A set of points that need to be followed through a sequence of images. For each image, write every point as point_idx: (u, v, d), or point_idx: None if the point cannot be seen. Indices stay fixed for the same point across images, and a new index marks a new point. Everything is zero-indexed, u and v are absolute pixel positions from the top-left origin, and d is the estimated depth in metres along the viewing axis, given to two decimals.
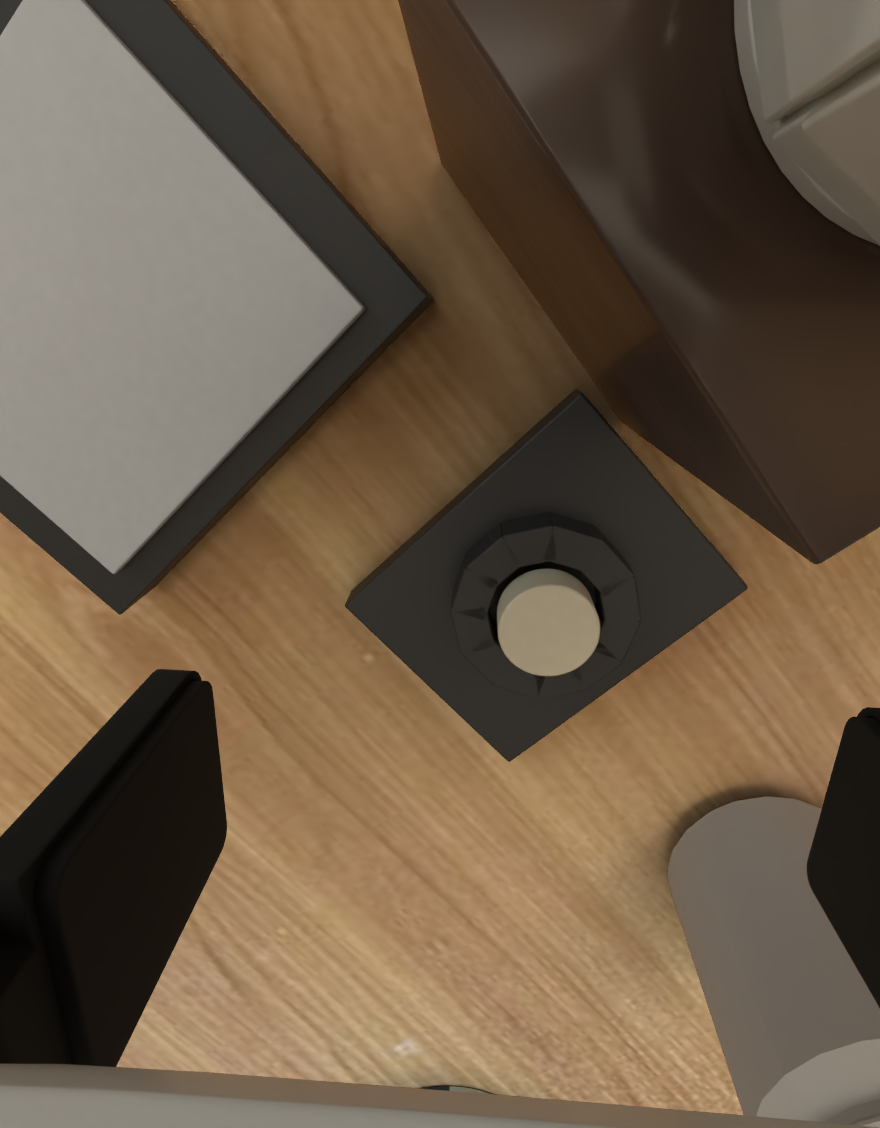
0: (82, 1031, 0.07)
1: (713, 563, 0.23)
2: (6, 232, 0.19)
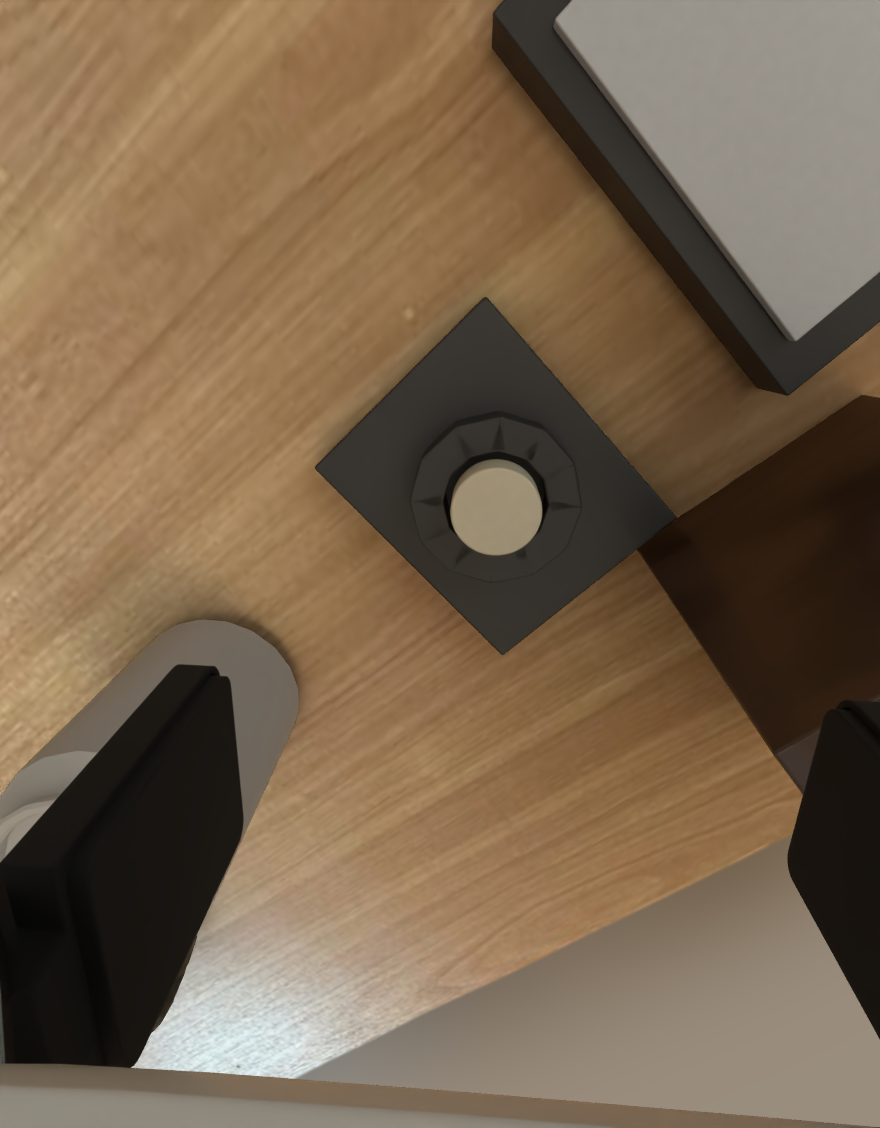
0: (111, 1016, 0.07)
1: (525, 628, 0.28)
2: None
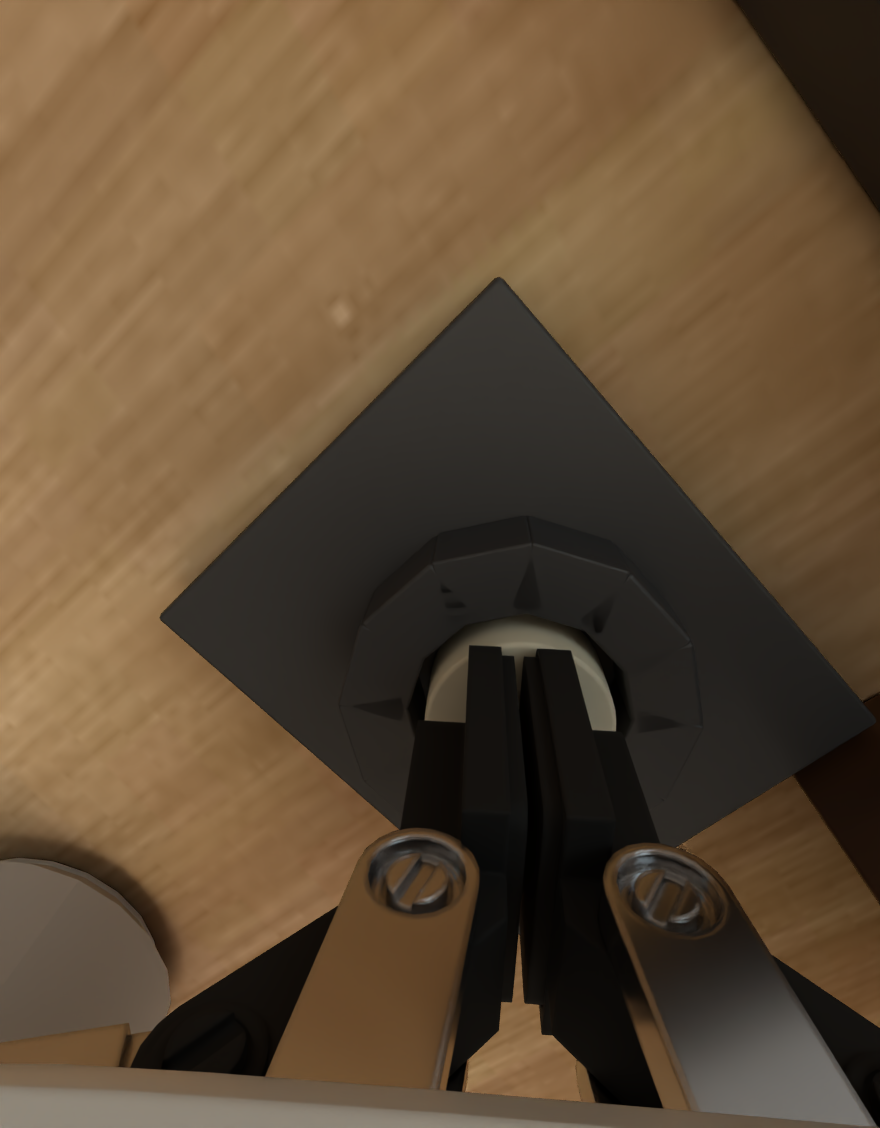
0: (509, 953, 0.08)
1: None
2: None
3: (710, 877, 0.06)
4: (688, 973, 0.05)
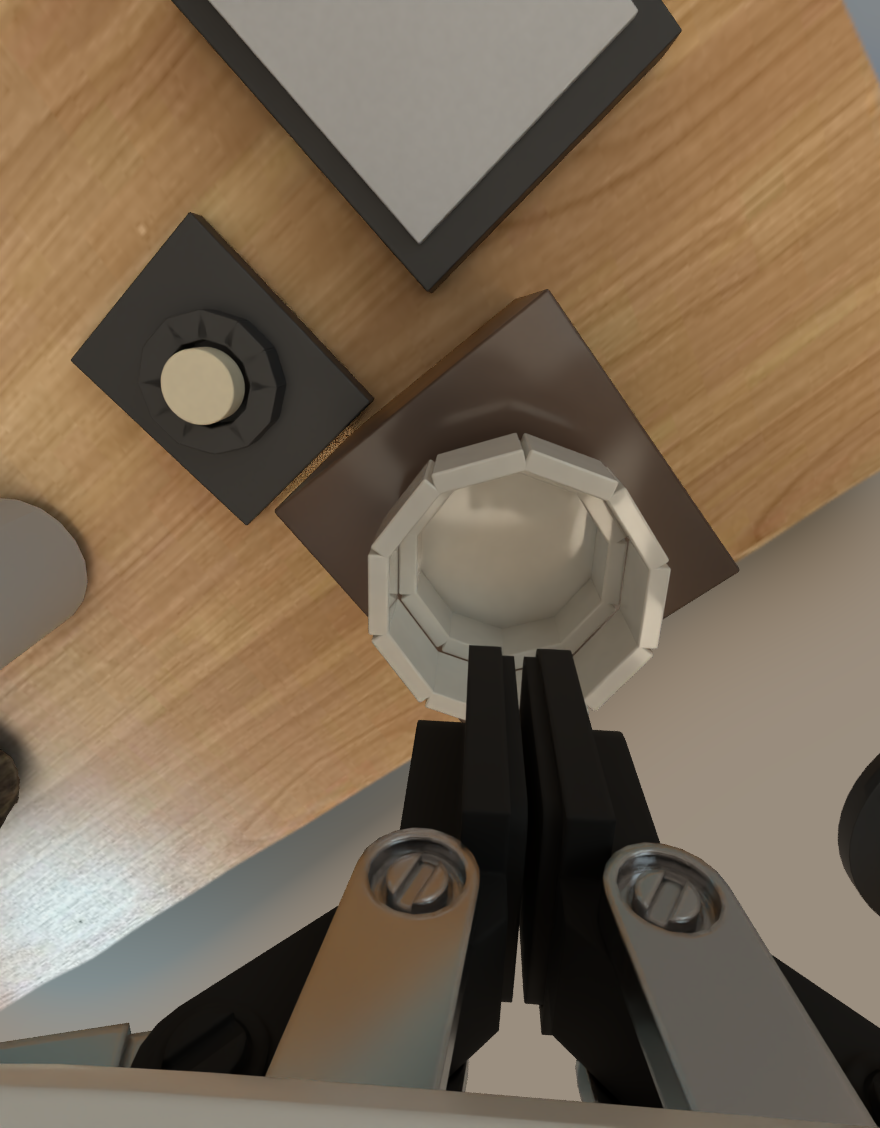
0: (509, 954, 0.08)
1: (261, 501, 0.33)
2: None
3: (711, 877, 0.06)
4: (688, 973, 0.05)
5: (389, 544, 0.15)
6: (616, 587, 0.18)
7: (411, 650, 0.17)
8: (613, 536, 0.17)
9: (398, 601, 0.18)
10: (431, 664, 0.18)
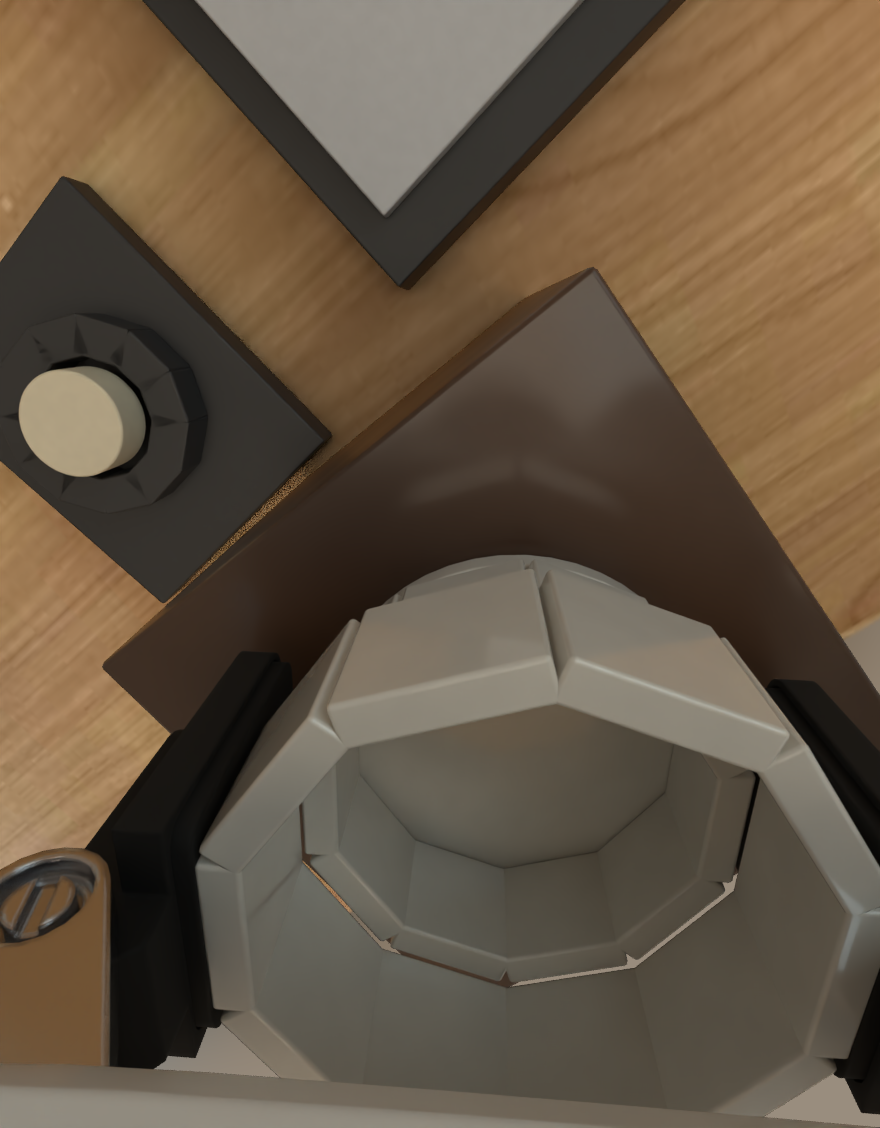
0: (203, 978, 0.07)
1: (180, 572, 0.24)
2: None
3: None
4: None
5: (238, 849, 0.07)
6: (728, 853, 0.09)
7: (314, 1011, 0.08)
8: (728, 765, 0.09)
9: (302, 872, 0.09)
10: (361, 1013, 0.09)
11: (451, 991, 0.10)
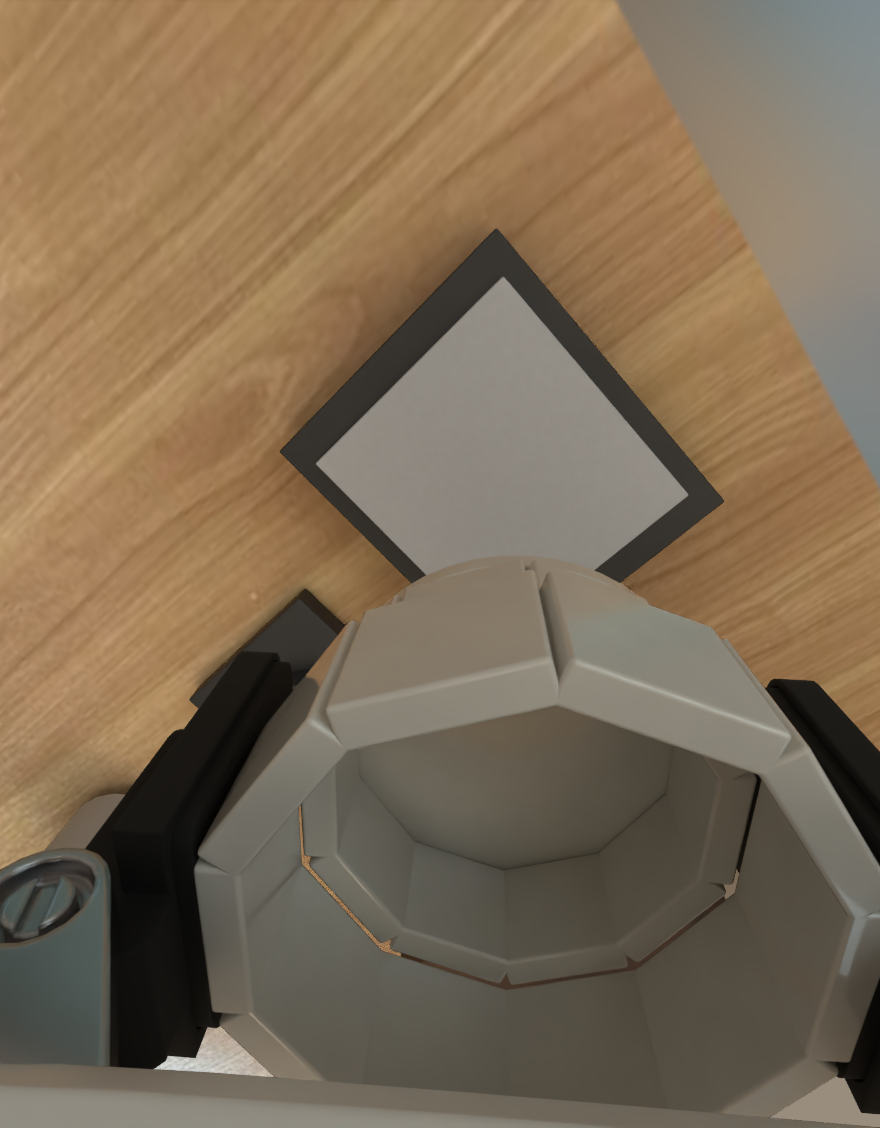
0: (203, 978, 0.07)
1: None
2: (551, 437, 0.28)
3: None
4: None
5: (237, 852, 0.07)
6: (729, 855, 0.09)
7: (313, 1014, 0.08)
8: (729, 767, 0.08)
9: (301, 874, 0.09)
10: (361, 1016, 0.09)
11: (451, 993, 0.10)
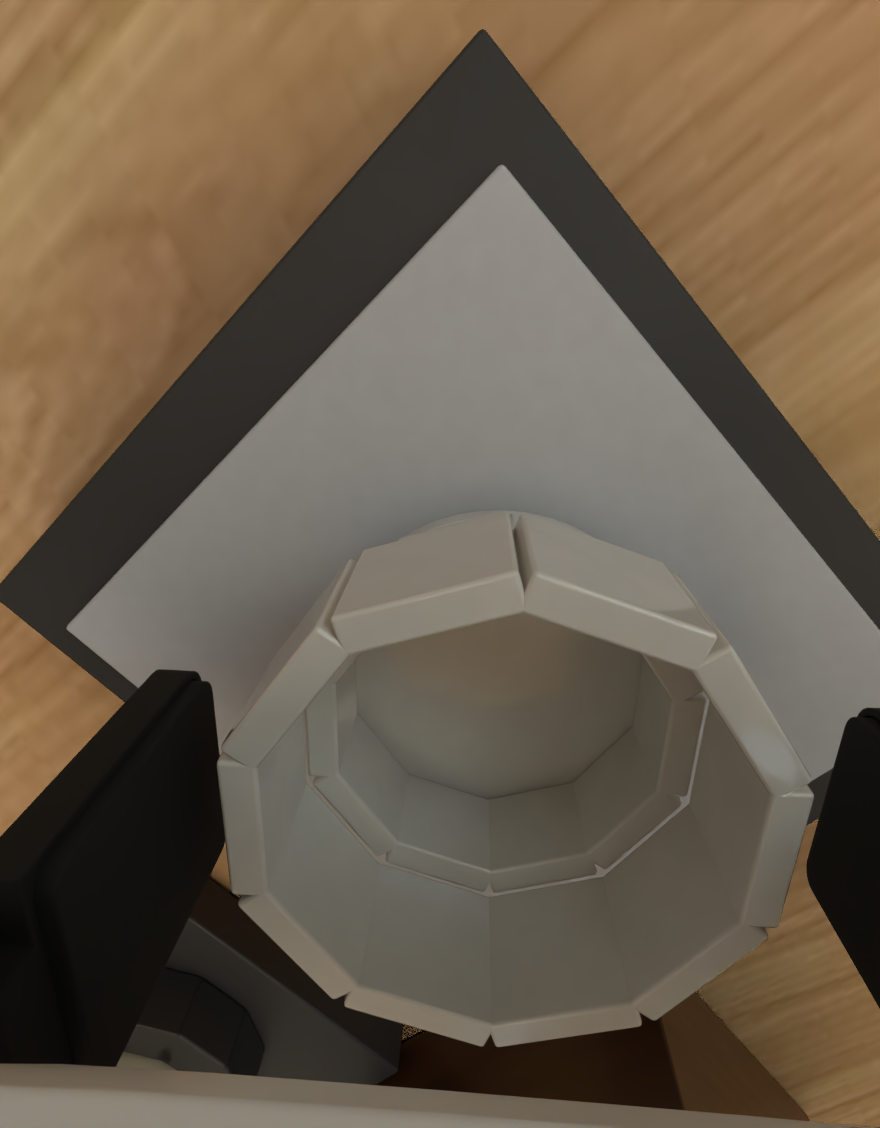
0: (82, 1031, 0.07)
1: None
2: None
3: None
4: None
5: (254, 746, 0.08)
6: (683, 769, 0.10)
7: (319, 902, 0.09)
8: (682, 689, 0.10)
9: (306, 790, 0.10)
10: (360, 910, 0.10)
11: (440, 898, 0.11)
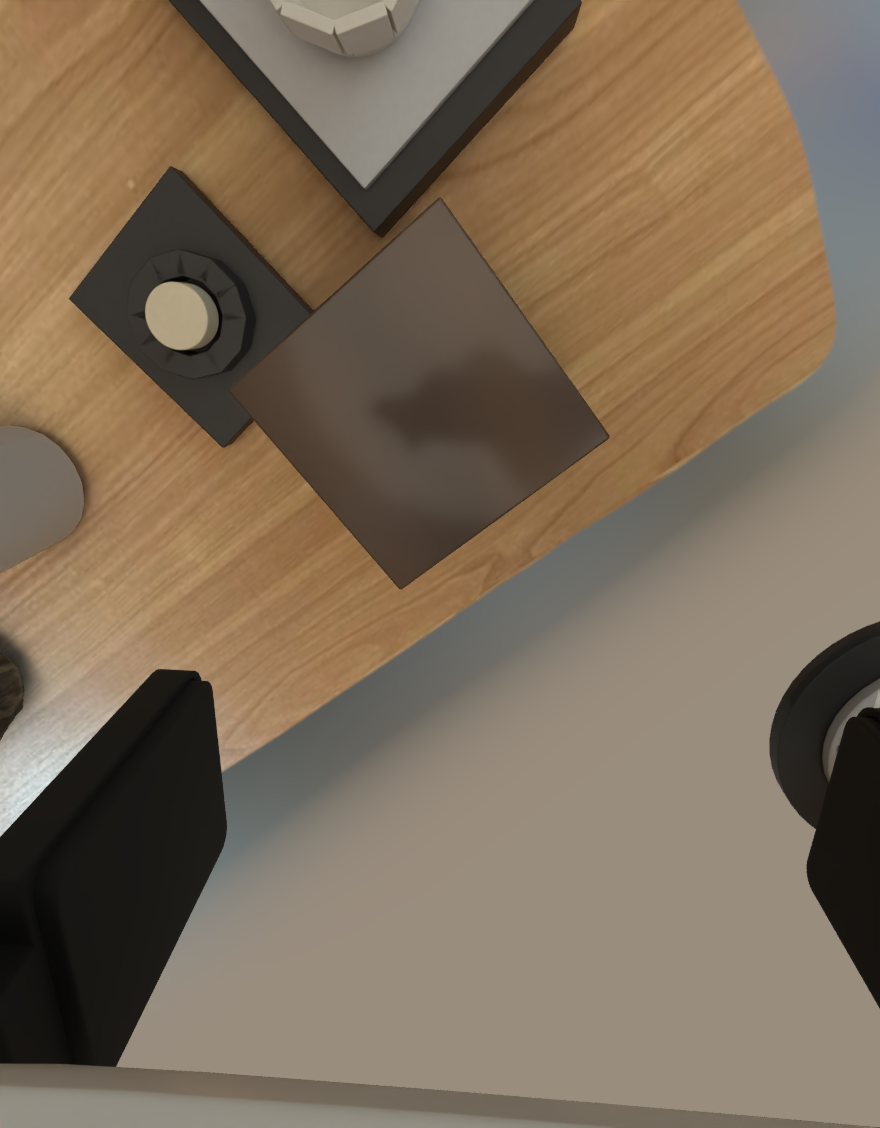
0: (82, 1031, 0.07)
1: (235, 425, 0.38)
2: None
3: None
4: None
5: None
6: None
7: None
8: None
9: None
10: None
11: None
